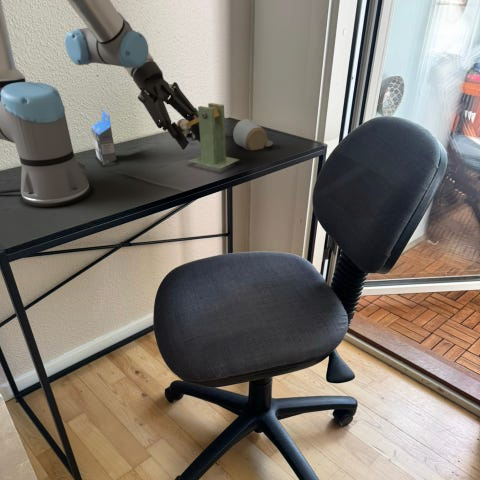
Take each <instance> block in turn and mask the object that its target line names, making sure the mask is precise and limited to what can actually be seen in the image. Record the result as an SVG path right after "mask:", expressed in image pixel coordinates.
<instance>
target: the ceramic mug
mask: <svg viewBox="0 0 480 480" xmlns="http://www.w3.org/2000/svg"><path fill="white" fill-rule="evenodd" d="M232 136H233V141H234V143H235V144H236V145H237V146H240V147H241V148H243V149H244V150H247V151H257V150H262V149H265V147H267V148H268V147H271V146H273V145H274V142H273V141H271V140H270V139H268V135H267V132H266V130H265V129H264V128H263V127H262V126H260V125H259V124H258V123H256V122H254V121H253V120H251V119H250V118H249V119H248V118H244V119H241V120H239V121H238V122H237V123H236V125H235V126H234V128H233V133H232Z"/></svg>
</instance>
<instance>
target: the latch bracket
mask: <svg viewBox="0 0 480 480" xmlns="http://www.w3.org/2000/svg"><path fill="white" fill-rule="evenodd" d="M214 106H216V107H217V110H218V112H219V115H220V116H218V117H216V118H215V116H214V108H211V107H214ZM197 110H198V113H199V128H200V142H199V144H200V155H199V156H197V157H194V158H192V159H190V160H188V162H190V163H195V164H199V165H202V166H207V167H211V168H216V169H221V170H222V169H223V168H225V167H227V166H230V165H231V164H234V163H236V162H238V161H240V159H239V158H233V157H229V156H227V150H226V149H227V147H226V124H225V123H226V122H225V104H220V103H214V102H209V103H208V104H207V106H202V105H199V106H197Z"/></svg>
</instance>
